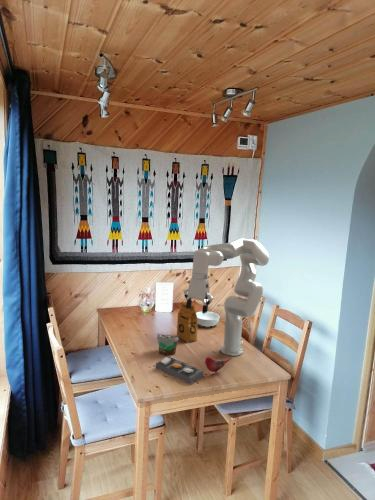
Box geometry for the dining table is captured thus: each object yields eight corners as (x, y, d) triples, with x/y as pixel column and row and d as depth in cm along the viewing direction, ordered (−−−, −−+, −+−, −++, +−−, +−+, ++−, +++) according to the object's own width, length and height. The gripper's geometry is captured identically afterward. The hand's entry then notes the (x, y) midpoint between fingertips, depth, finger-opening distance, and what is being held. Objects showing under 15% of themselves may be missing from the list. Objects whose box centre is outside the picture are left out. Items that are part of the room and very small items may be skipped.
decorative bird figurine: (201, 376, 179) (202, 356, 177) (229, 368, 189) (230, 349, 188) (205, 379, 177) (206, 359, 175) (232, 370, 187) (234, 351, 185)
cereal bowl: (188, 325, 247) (189, 315, 246) (202, 319, 261) (202, 309, 260) (210, 331, 238) (211, 321, 237) (223, 325, 252) (224, 315, 251)
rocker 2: (187, 369, 178) (188, 367, 178) (193, 372, 176) (193, 370, 176) (182, 370, 175) (183, 368, 175) (188, 372, 173) (188, 370, 173)
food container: (152, 353, 201) (153, 336, 200) (157, 349, 207) (158, 332, 205) (173, 358, 197) (174, 340, 195) (177, 354, 203) (178, 336, 201)
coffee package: (185, 344, 217) (187, 307, 213) (174, 336, 227) (176, 301, 223) (199, 341, 222) (201, 305, 219) (188, 334, 232) (189, 299, 229)
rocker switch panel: (168, 362, 192) (169, 355, 192) (203, 376, 179) (203, 369, 178) (155, 368, 185) (155, 361, 184) (190, 384, 171) (190, 376, 171)
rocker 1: (166, 358, 186) (166, 357, 186) (171, 360, 184) (170, 359, 184) (160, 362, 184) (160, 361, 183) (165, 365, 182) (165, 363, 181)
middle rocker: (176, 365, 182) (177, 363, 182) (181, 367, 180) (182, 365, 180) (171, 365, 179) (172, 363, 179) (176, 367, 177) (177, 365, 177)
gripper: (218, 278, 178) (215, 313, 180) (190, 272, 188) (187, 305, 190) (209, 280, 172) (206, 316, 174) (180, 273, 182) (178, 307, 184)
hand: (196, 310), depth 182 cm, fingers open, 9 cm apart
